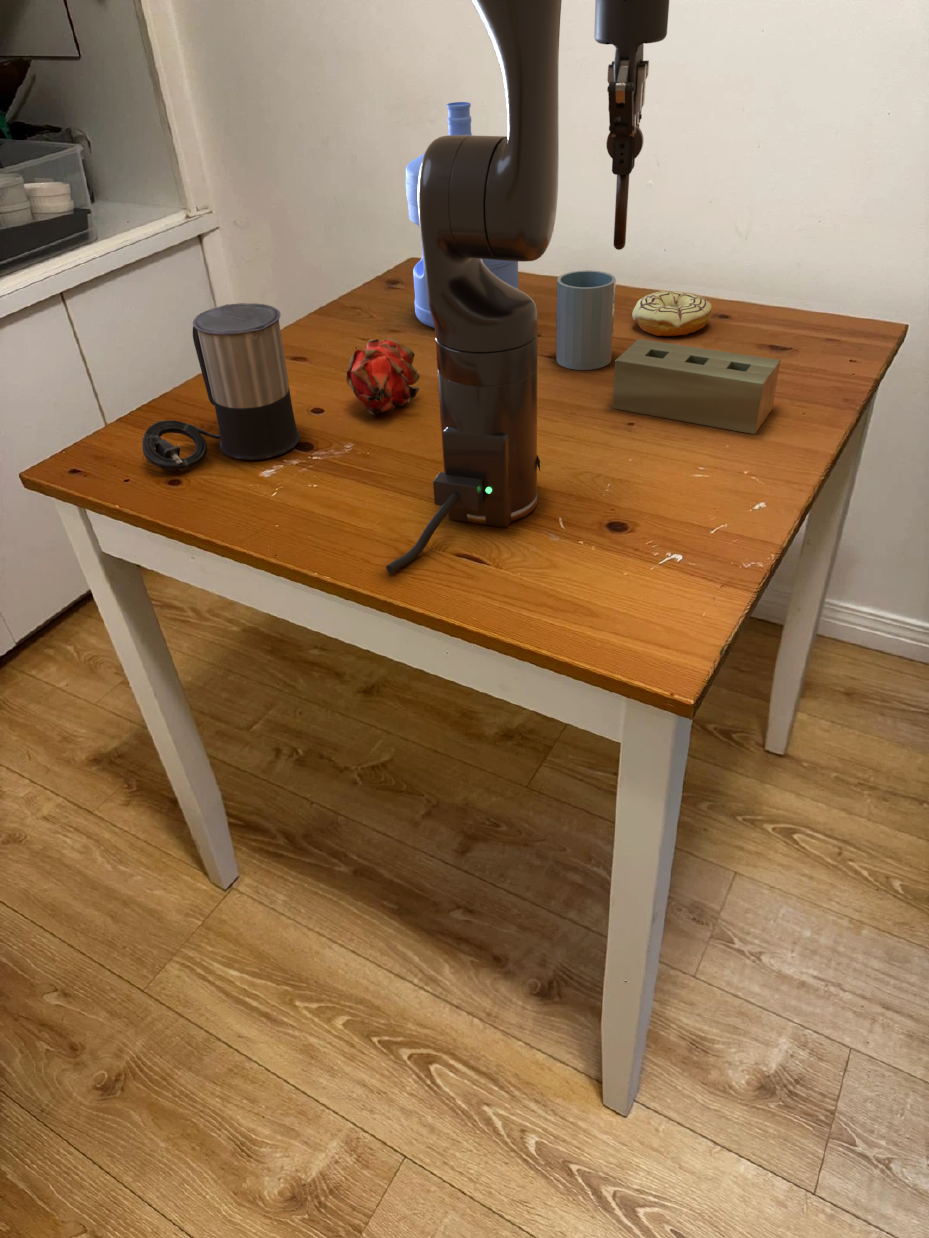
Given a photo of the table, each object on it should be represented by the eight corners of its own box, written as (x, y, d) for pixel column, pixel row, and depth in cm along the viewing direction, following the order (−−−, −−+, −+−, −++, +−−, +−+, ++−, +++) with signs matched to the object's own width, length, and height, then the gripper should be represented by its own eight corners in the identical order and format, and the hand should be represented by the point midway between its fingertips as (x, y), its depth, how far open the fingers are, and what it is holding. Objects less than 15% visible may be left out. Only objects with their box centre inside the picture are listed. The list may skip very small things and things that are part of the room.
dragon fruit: (398, 394, 119) (389, 448, 111) (340, 361, 116) (326, 414, 108) (432, 345, 114) (425, 398, 105) (373, 309, 111) (361, 360, 102)
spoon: (636, 248, 109) (645, 121, 101) (635, 251, 108) (643, 123, 100) (603, 247, 110) (608, 121, 102) (601, 251, 109) (606, 123, 101)
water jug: (538, 306, 139) (539, 97, 122) (484, 340, 129) (478, 116, 112) (452, 293, 146) (441, 93, 129) (395, 324, 136) (375, 111, 119)
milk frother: (317, 435, 107) (298, 308, 98) (225, 495, 96) (193, 359, 87) (226, 413, 113) (200, 292, 104) (130, 467, 102) (92, 338, 93)
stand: (754, 434, 102) (763, 383, 98) (612, 408, 109) (615, 360, 105) (772, 409, 107) (780, 359, 103) (635, 385, 114) (638, 338, 110)
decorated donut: (618, 330, 130) (620, 303, 127) (658, 308, 136) (660, 282, 134) (683, 344, 124) (686, 317, 122) (721, 321, 130) (725, 294, 128)
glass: (604, 372, 118) (608, 290, 112) (549, 367, 120) (550, 286, 114) (616, 352, 123) (621, 272, 117) (563, 347, 125) (565, 269, 119)
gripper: (605, -17, 99) (599, 159, 110) (585, -7, 89) (580, 186, 99) (676, -19, 97) (662, 159, 108) (663, -10, 87) (649, 187, 98)
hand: (623, 171), depth 104 cm, fingers closed on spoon, 1 cm apart
